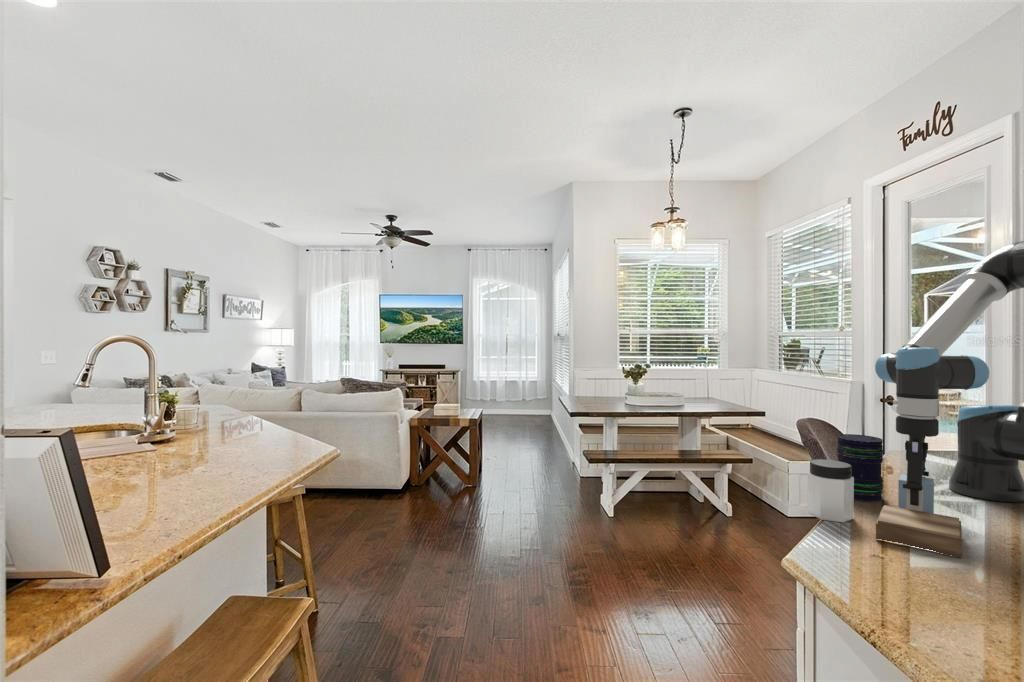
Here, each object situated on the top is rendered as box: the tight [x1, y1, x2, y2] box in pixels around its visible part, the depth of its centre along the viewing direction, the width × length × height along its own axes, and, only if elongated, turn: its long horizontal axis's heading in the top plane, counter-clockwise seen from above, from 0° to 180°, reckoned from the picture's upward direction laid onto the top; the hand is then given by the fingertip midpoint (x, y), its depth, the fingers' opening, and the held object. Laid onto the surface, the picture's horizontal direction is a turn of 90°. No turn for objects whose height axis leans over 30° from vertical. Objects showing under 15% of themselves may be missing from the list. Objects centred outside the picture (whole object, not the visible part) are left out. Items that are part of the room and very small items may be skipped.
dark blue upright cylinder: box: [836, 433, 884, 503], centre depth 132 cm, size 10×10×15 cm
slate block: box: [897, 473, 935, 514], centre depth 115 cm, size 6×6×9 cm
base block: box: [875, 504, 963, 558], centre depth 104 cm, size 13×13×4 cm
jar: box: [807, 458, 855, 524], centre depth 118 cm, size 9×8×12 cm
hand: (916, 511), depth 116 cm, fingers open, 13 cm apart
